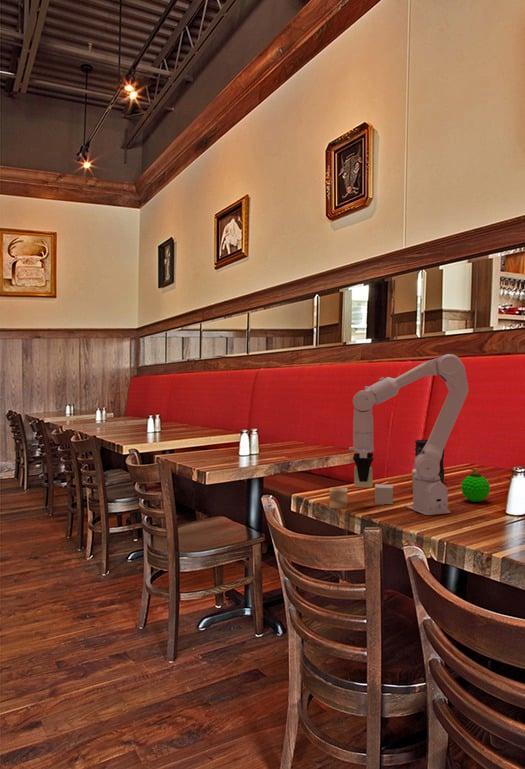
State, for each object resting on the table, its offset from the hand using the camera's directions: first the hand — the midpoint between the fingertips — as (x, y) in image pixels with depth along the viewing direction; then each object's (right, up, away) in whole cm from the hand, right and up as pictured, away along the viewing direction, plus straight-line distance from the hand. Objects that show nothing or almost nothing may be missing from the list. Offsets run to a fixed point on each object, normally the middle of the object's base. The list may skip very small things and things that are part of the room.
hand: (363, 479), depth 156 cm
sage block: (0, -2, 0) cm, 2 cm away
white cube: (+7, -8, +6) cm, 12 cm away
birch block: (-7, -8, +1) cm, 11 cm away
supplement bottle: (+22, -8, +19) cm, 30 cm away
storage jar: (+30, -8, +34) cm, 46 cm away
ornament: (+35, -8, +6) cm, 36 cm away
